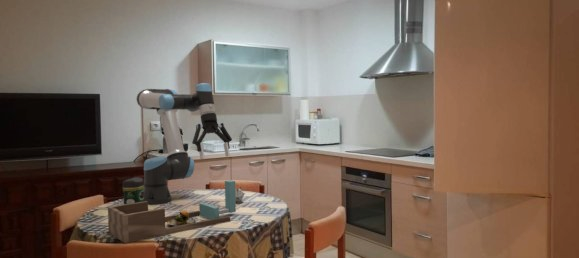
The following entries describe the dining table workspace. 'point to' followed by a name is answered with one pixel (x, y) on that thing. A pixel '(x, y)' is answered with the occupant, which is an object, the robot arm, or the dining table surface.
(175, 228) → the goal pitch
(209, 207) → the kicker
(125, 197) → the coffee jar
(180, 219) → the burger
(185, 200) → the dining table surface
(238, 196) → the game die
